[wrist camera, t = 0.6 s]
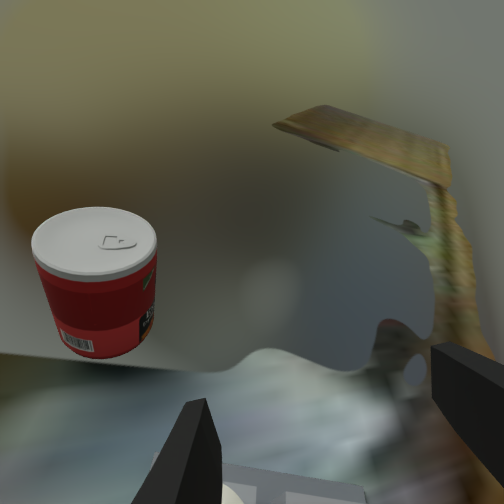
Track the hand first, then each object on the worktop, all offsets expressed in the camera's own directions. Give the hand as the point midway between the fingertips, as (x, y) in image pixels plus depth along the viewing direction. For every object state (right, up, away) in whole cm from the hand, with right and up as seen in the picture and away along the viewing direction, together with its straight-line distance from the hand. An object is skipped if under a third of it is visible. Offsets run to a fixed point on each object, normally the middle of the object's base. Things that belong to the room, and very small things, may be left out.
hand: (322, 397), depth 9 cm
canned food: (-16, -3, +19) cm, 25 cm away
